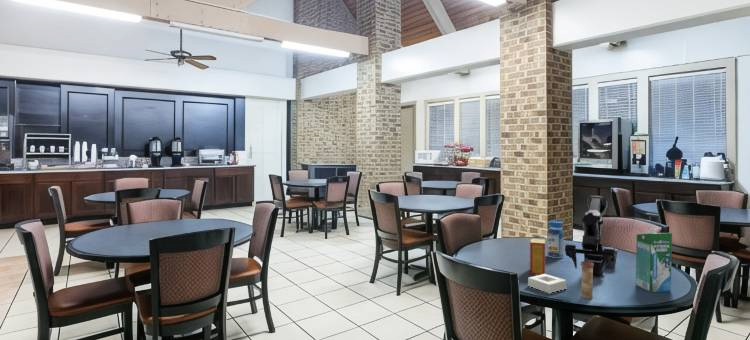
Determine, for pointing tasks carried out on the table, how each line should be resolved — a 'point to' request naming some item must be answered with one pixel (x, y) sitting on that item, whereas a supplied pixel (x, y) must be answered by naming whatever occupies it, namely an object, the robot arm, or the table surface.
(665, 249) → the milk carton
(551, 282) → the socket
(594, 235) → the robot arm
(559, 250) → the beverage bottle
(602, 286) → the table surface
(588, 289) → the tan cylindrical container
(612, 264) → the coffee cup
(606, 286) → the table surface
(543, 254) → the baking soda box
